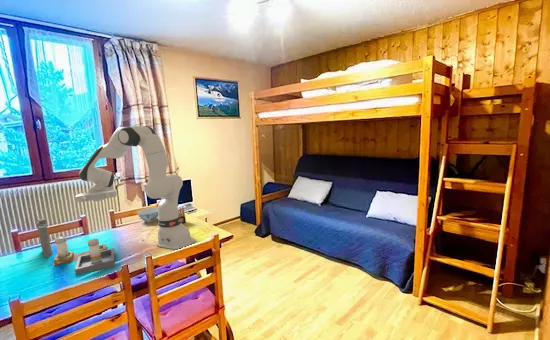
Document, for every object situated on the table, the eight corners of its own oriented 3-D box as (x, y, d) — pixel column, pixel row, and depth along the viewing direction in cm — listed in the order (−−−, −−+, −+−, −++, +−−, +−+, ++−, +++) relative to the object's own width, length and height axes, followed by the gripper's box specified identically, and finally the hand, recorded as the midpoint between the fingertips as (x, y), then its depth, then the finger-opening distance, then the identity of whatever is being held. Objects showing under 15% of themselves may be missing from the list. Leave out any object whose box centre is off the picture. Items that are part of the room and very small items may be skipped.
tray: (114, 254, 153) (113, 248, 152) (114, 266, 139) (113, 260, 139) (79, 262, 145) (78, 256, 145) (75, 276, 132) (74, 269, 131)
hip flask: (42, 250, 163) (35, 217, 159) (50, 247, 166) (44, 215, 162) (44, 259, 151) (37, 223, 148) (54, 256, 154) (47, 221, 151)
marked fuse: (103, 261, 143) (100, 239, 141) (93, 265, 139) (90, 243, 137) (99, 259, 145) (95, 237, 143) (89, 263, 142) (85, 241, 140)
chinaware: (163, 221, 203) (162, 210, 201) (140, 226, 194) (139, 215, 193) (158, 215, 215) (157, 206, 214) (137, 220, 207) (136, 210, 205)
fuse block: (108, 248, 161) (107, 242, 160) (107, 255, 152) (106, 249, 152) (56, 260, 149) (54, 253, 149) (52, 268, 141) (51, 261, 140)
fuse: (71, 259, 147) (66, 237, 145) (60, 262, 144) (56, 240, 142) (68, 256, 150) (64, 235, 148) (58, 260, 147) (53, 238, 145)
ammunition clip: (170, 226, 191) (168, 209, 189) (169, 225, 193) (167, 208, 191) (186, 222, 197) (184, 206, 195) (185, 222, 199) (183, 205, 196)
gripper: (75, 191, 161) (72, 196, 149) (115, 185, 171) (115, 190, 159) (77, 201, 162) (74, 207, 150) (117, 195, 172) (117, 200, 160)
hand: (95, 198), depth 155 cm, fingers open, 8 cm apart
